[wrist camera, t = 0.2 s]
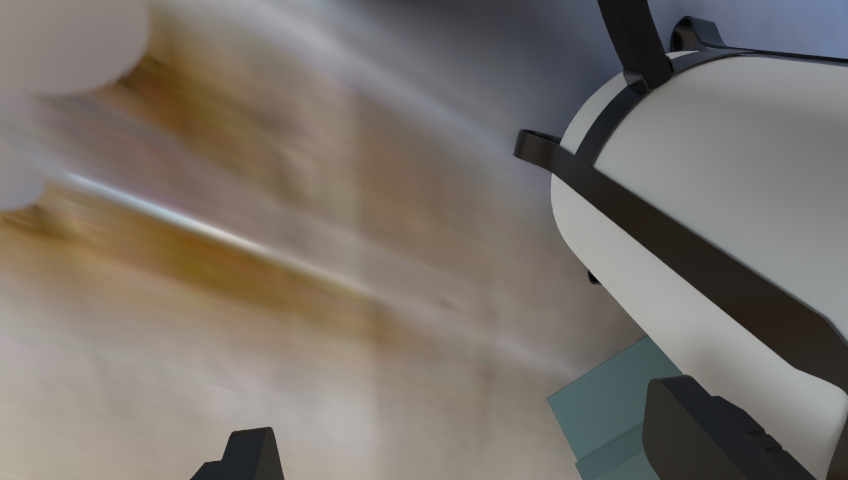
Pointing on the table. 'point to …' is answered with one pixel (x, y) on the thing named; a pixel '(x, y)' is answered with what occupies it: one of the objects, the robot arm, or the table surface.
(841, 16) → the table surface
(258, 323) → the table surface
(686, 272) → the coffee press
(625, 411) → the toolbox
